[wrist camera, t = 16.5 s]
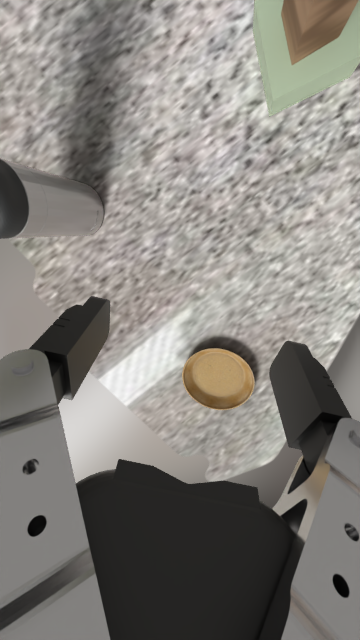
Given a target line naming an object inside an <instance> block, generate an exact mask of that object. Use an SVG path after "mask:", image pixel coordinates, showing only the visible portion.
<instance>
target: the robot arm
mask: <svg viewBox="0 0 360 640" xmlns="http://www.w3.org/2000/svg"><path fill="white" fill-rule="evenodd" d="M103 216H104V210H103V205H102V201H101V199H100V197H99V195H98V194H97V192H96V191H95V190H94V189H93V188H92V187H90V186H88V185H87V184H84V183H80V182H77V181H74V180H71V179H68V178H64V177H61V176H58V175H54V174H51V173H48V172H44V171H41V170H38V169H34V168H31V167H28V166H24V165H21V164H17V163H14V162H11V161H7V160H4V159H1V158H0V239H1V238H28V237H60V236H88V235H92V234H94V233H95V232H96V231H97V230H98V229H99V228H100V226H101V224H102V221H103ZM109 326H110V301H109V300H107V299H102V298H98V297H94V296H91V297H90V298H89V299H88V300H87V301H86V303H85V304H84V305H83V306H81V305H75V306H73V307H71V308H69V309H67V310H65V312H64V313H63V314H62V315H61V316H60V317H59V319H57V320H56V321H55V322H54V323H53V325H51V326H50V327H49V328H48V330H47V331H46V332H45V333H44V334H43V335H42V336H41V337H40V338H39V339H38V340H37V341H36V342H35V343H34V344H33V345H32V346H31V347H30V348H29V349H26V350H19V351H15V352H13V353H10V354H8V355H7V356H5V357H3V358H2V359H1V360H0V640H360V422H359V421H357V420H354V419H352V418H351V416H350V414H349V412H348V410H347V408H346V407H345V405H344V403H343V401H342V399H341V398H340V396H339V394H338V392H337V390H336V389H335V388H334V385H333V383H332V381H331V380H330V377H329V375H328V374H327V372H326V370H325V368H324V367H323V366H322V365H321V364H320V363H319V362H318V361H317V360H316V359H315V358H313V356H312V355H311V353H310V351H309V349H308V347H307V346H306V345H305V344H301V343H296V342H292V341H286V342H285V343H284V345H283V346H282V348H281V350H280V351H279V353H278V355H277V356H276V358H275V359H274V361H273V363H272V365H271V367H270V380H271V384H272V387H273V391H274V395H275V398H276V402H277V406H278V409H279V413H280V417H281V420H282V424H283V428H284V431H285V435H286V439H287V442H288V446H289V447H291V448H296V449H300V450H302V453H303V456H301V457H300V458H299V460H298V462H297V464H296V466H295V469H294V471H293V473H292V475H291V477H290V479H289V481H288V484H287V485H286V488H285V490H284V492H283V494H282V496H281V498H280V500H279V501H278V502H277V504H276V505H275V506H274V508H273V509H271V508H270V507H269V506H267V505H266V504H264V503H263V502H261V501H260V500H259V496H258V489H257V488H256V487H252V486H247V485H242V484H237V483H232V482H228V481H216V482H207V483H197V484H187V483H184V482H182V481H180V480H178V479H176V478H175V477H173V476H171V475H169V474H167V473H165V472H163V471H161V470H159V469H157V468H156V467H154V466H150V465H145V464H141V463H136V462H131V461H126V460H121V459H119V460H118V464H117V467H116V469H114V470H107V471H103V472H99V473H96V474H93V475H90V476H88V477H86V478H85V479H83V480H81V481H79V482H78V483H76V484H75V479H74V474H73V470H72V465H71V461H70V457H69V452H68V447H67V443H66V438H65V434H64V429H63V424H62V420H61V416H60V411H59V407H58V404H59V403H60V401H61V399H62V398H65V399H69V400H72V399H73V398H74V396H75V394H76V392H77V391H78V389H79V387H80V385H81V383H82V382H83V380H84V378H85V377H86V375H87V373H88V371H89V370H90V368H91V366H92V364H93V363H94V361H95V359H96V357H97V356H98V354H99V352H100V350H101V349H102V347H103V345H104V343H105V342H106V339H107V337H108V333H109Z"/></svg>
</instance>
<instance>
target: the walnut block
mask: <svg viewBox="0 0 360 640" xmlns="http://www.w3.org/2000/svg"><path fill="white" fill-rule="evenodd" d="M357 2H358V0H284V1H283V6H282V11H281V17H282V21H283V26H284V31H285V36H286V40H287V45H288V50H289V55H290V59H291V64H292V65H294V64H295V63H297V62H299V61H300V60H302V59H304V58H305V57H307V56H308V55H310V54H312V53H313V52H315V51H317V50H318V49H320V48H322V47H323V46H325V45H327V44H328V43H330V42H332V41H333V40H335V39H337V38H338V37H339V36H340V34H341V32H342V30H343V29H344V27H345V25H346V23H347V21H348V19H349V17H350V15H351V14H352V12H353V10H354V8H355V6H356V4H357Z"/></svg>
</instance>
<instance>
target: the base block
mask: <svg viewBox="0 0 360 640" xmlns="http://www.w3.org/2000/svg"><path fill="white" fill-rule="evenodd" d="M283 1H284V0H254V18H253V34H254V39H255V45H256V50H257V55H258V60H259V65H260V71H261V76H262V81H263V86H264V91H265V96H266V102H267V107H268V112H269V117H270V116H272V115H274V114H276V113H278V112H280V111H282V110H284V109H286V108H288V107H290V106H292V105H294V104H296V103H298V102H300V101H302V100H304V99H306V98H308V97H310V96H312V95H315V94H317V93H319V92H321V91H323V90H325V89H327V88H329V87H331V86H333V85H335V84H337V83H339V82H341V81H343V80H345V79H347V78H349V77H350V76H351V75H352V73H353V72H354V70H355V69H356V67H357V66H358V64H359V63H360V0H358V2H357V4H356V6H355V8H354V10H353V12H352V14H351V15H350V17H349V19H348V21H347V23H346V25H345V27H344V29H343V30H342V32H341V34H340V36H339V37H338V38H337V39H335V40H333V41H332V42H330V43H328V44H327V45H325V46H323V47H322V48H320V49H318V50H317V51H315V52H313V53H312V54H310V55H308V56H307V57H305V58H304V59H302V60H300V61H299V62H297V63H295V64H294V65H292V64H291V59H290V55H289V50H288V45H287V40H286V36H285V31H284V26H283V21H282V17H281V11H282V6H283Z"/></svg>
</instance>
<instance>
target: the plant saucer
mask: <svg viewBox="0 0 360 640" xmlns="http://www.w3.org/2000/svg"><path fill="white" fill-rule="evenodd" d="M182 379H183V384H184V387H185V389H186V391H187V392H188V394H189V395H190V396H191V397H192V398H193V399H194V400H195V401H196V402H198V403H199V404H201V405H203V406H205V407H208V408H211V409H215V410H229V409H233V408H236V407H238V406H240V405H242V404H244V403H245V402H246V401H247V400H248V399H249V397H250V396H251V394H252V392H253V390H254V384H255V380H254V375H253V372H252V370H251V368H250V366H249V365H248V364H247V362H246V361H245V360H244V359H242V358H241V357H240V356H239V355H237V354H235V353H233V352H231V351H228V350H225V349H219V348H210V349H205V350H201V351H199V352H197V353H195V354H194V355H192V356H191V357H190V358H189V359H188V360H187V362H186V363H185V365H184V368H183V372H182Z"/></svg>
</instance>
